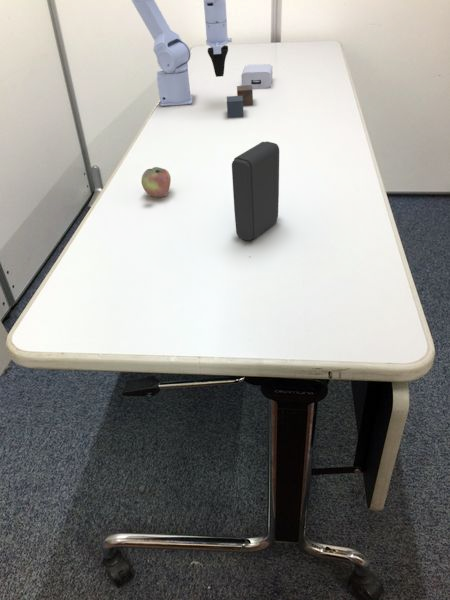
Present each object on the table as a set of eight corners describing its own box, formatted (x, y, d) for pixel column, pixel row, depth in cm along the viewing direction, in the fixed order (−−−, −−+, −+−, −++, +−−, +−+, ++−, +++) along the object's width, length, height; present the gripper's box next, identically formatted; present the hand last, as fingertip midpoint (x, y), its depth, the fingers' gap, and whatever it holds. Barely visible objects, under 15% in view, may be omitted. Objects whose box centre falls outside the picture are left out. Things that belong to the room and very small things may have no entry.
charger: (273, 74, 157) (270, 87, 146) (246, 74, 159) (241, 88, 148) (273, 58, 154) (270, 71, 143) (245, 59, 156) (241, 72, 145)
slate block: (227, 118, 129) (226, 101, 126) (227, 112, 132) (226, 96, 129) (243, 117, 129) (242, 100, 126) (243, 111, 132) (242, 95, 129)
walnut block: (237, 106, 135) (237, 90, 132) (237, 101, 139) (236, 85, 136) (252, 105, 135) (252, 89, 132) (252, 100, 138) (251, 84, 136)
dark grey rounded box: (263, 215, 88) (262, 137, 79) (280, 221, 86) (282, 142, 77) (233, 237, 83) (228, 157, 74) (251, 244, 81) (248, 163, 71)
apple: (140, 205, 94) (135, 178, 90) (147, 187, 100) (142, 161, 96) (169, 204, 94) (165, 177, 90) (174, 186, 100) (171, 160, 96)
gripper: (231, 25, 117) (234, 82, 126) (230, 14, 128) (233, 67, 137) (203, 27, 118) (208, 84, 127) (205, 16, 129) (209, 69, 138)
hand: (219, 75), depth 132 cm, fingers closed
